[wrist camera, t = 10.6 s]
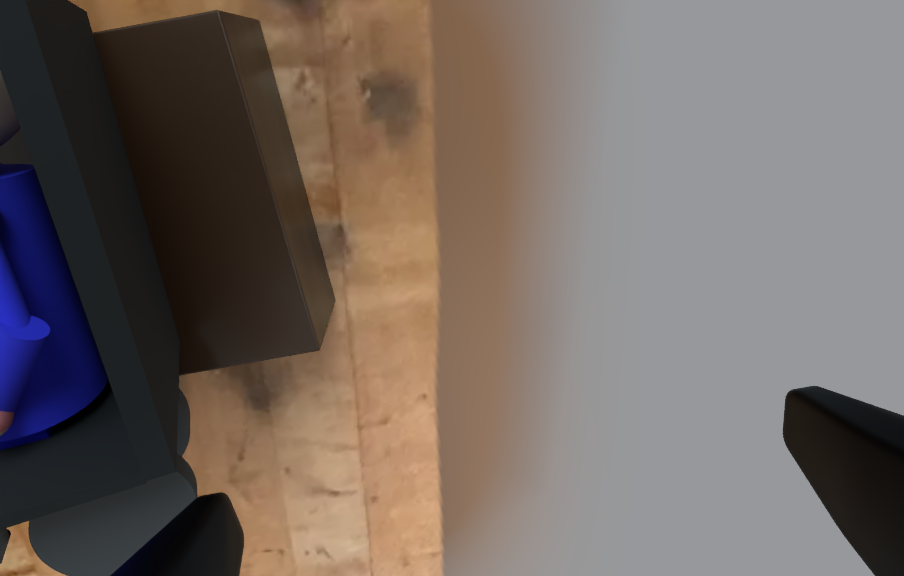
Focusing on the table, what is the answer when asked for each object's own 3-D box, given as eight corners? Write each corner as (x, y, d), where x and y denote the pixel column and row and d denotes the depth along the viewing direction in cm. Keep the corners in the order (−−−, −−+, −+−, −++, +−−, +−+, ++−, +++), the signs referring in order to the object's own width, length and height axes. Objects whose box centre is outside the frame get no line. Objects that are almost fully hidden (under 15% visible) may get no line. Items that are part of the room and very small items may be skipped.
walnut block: (259, 19, 18) (219, 9, 14) (335, 300, 22) (320, 350, 18) (-49, 75, 18) (-170, 79, 14) (83, 346, 22) (15, 405, 18)
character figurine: (75, 444, 19) (-108, -68, 13) (286, 439, 19) (191, -83, 13) (-160, 680, 12) (-781, -221, 6) (178, 675, 12) (-138, -259, 6)
